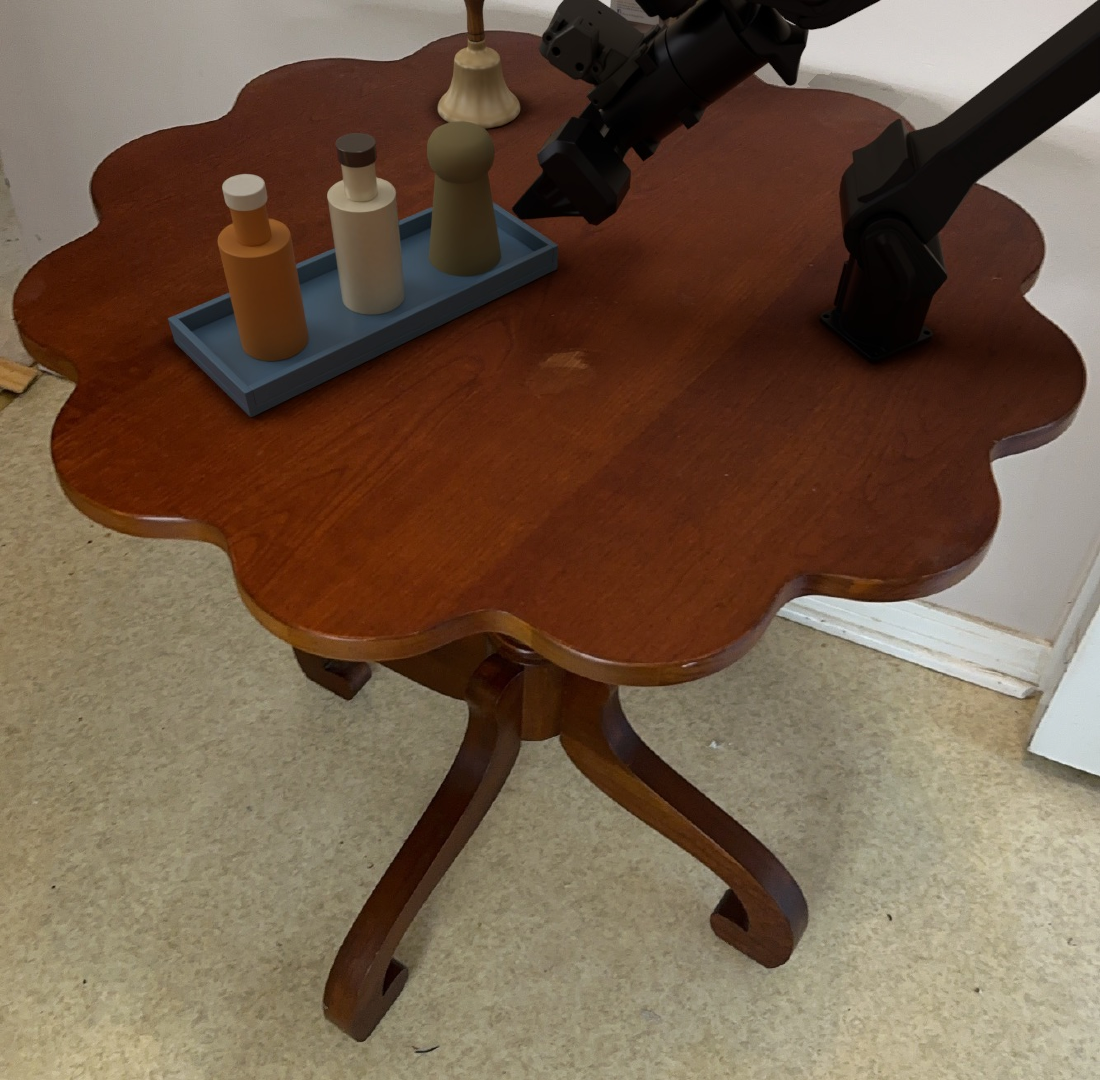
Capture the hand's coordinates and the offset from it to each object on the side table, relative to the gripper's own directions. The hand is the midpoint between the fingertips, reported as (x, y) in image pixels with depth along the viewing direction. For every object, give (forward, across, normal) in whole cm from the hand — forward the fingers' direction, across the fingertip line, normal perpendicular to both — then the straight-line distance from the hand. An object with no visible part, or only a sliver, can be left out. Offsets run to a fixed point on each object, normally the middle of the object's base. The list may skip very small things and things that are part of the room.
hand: (537, 183), depth 84 cm
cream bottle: (+13, +8, -2) cm, 16 cm away
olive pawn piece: (+10, 0, +1) cm, 10 cm away
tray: (+14, +8, -2) cm, 16 cm away
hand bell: (+17, -25, -4) cm, 31 cm away
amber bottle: (+16, +16, -5) cm, 23 cm away
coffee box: (+7, -38, +6) cm, 39 cm away
